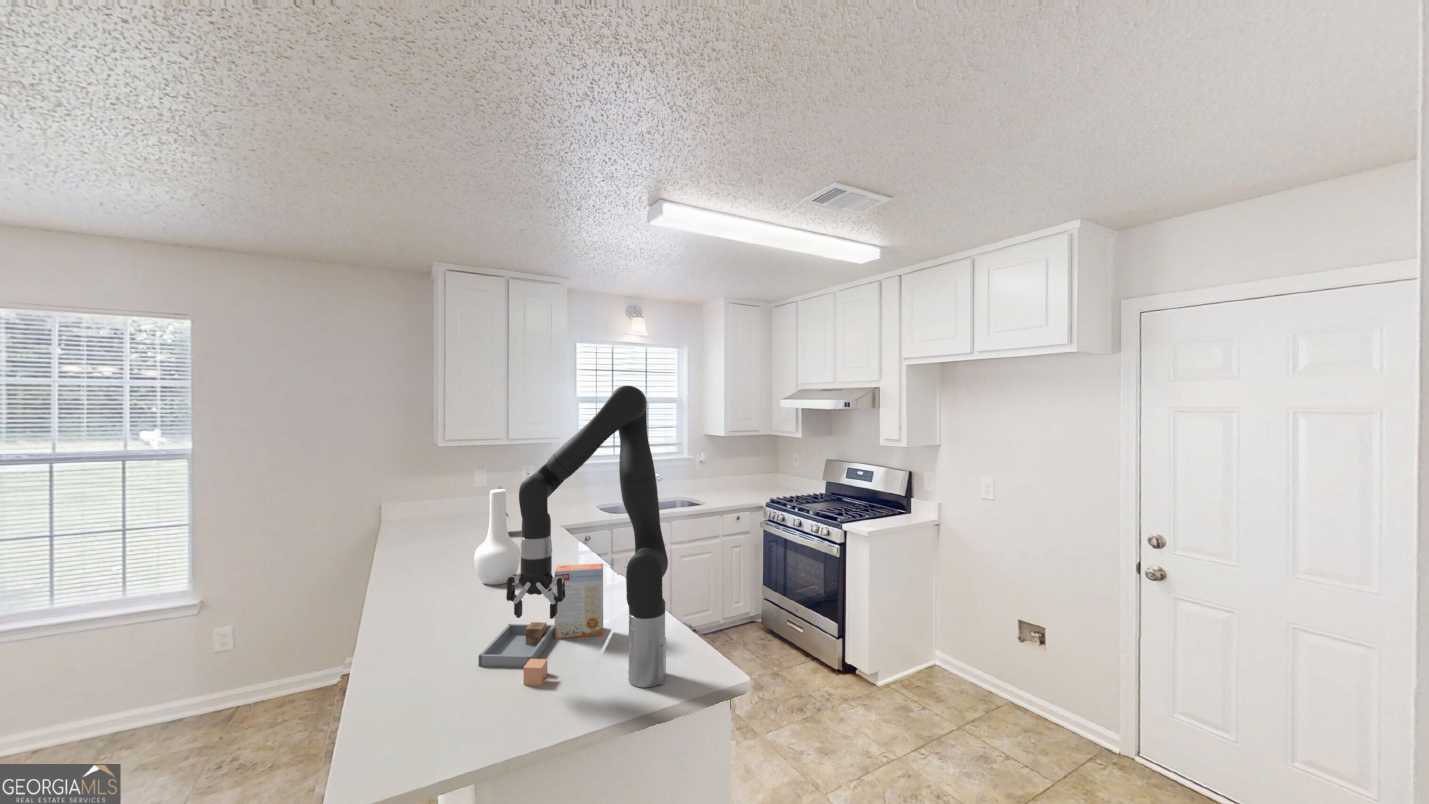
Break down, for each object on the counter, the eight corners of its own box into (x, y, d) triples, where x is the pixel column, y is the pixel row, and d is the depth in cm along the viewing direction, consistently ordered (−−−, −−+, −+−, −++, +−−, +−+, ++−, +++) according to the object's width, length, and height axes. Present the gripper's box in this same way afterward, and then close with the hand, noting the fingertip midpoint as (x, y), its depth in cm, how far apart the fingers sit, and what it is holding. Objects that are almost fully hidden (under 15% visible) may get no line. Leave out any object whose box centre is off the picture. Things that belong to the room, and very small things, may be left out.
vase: (525, 582, 210) (525, 491, 210) (479, 590, 201) (479, 495, 200) (514, 570, 224) (514, 485, 224) (470, 577, 215) (470, 489, 214)
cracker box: (603, 629, 168) (603, 562, 168) (602, 638, 162) (603, 568, 162) (556, 632, 166) (556, 564, 166) (553, 641, 160) (554, 570, 160)
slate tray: (555, 636, 163) (555, 624, 163) (531, 670, 143) (531, 656, 143) (509, 635, 164) (509, 623, 164) (478, 668, 144) (478, 655, 144)
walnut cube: (546, 637, 161) (546, 622, 161) (541, 644, 156) (541, 629, 156) (531, 637, 161) (531, 622, 161) (525, 644, 156) (525, 628, 156)
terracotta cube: (547, 676, 141) (547, 659, 140) (541, 685, 136) (541, 667, 136) (530, 675, 141) (530, 658, 141) (523, 685, 136) (523, 667, 136)
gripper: (502, 557, 134) (502, 622, 135) (559, 558, 134) (559, 624, 134) (514, 548, 142) (514, 610, 142) (568, 549, 142) (568, 611, 142)
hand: (535, 617), depth 138 cm, fingers open, 8 cm apart
